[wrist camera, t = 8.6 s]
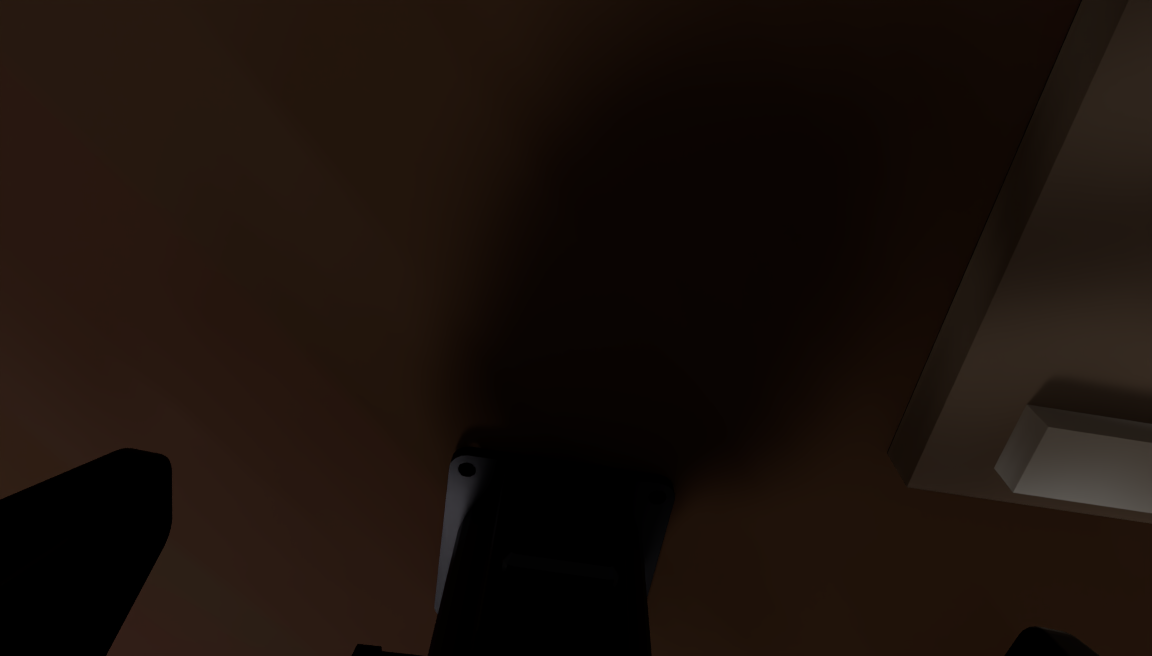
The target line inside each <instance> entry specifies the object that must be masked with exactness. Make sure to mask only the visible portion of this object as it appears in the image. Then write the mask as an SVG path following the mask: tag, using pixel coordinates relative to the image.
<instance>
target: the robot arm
mask: <svg viewBox="0 0 1152 656" xmlns="http://www.w3.org/2000/svg"><path fill="white" fill-rule="evenodd" d="M466 462H468V463H471V464H473V465H474V466H475V467H474V468H466V467H464V466H463V465H462V463H466ZM657 490H660V491H662V492H663V493H662V494H661V495H652V494H650V493H651V492H653V491H657ZM674 500H675V493H674V487H673V484H672V482H671V480H669V479H668V478H667V477H665V476H662V475H657V474H650V473H643V472H636V471H630V470H623V469H616V468H610V467H608V466H601V465H594V464H588V463H581V462H574V461H567V460H560V459H554V458H547V457H540V456H533V455H521V454H514V453H507V452H501V451H494V450H487V449H480V448H473V447H463V448H461V449H458V450H457V451H456V452H455V453H454V454H453V457H452V460H451V464H450V467H449V477H448V486H447V495H446V504H445V514H444V523H443V532H442V542H441V551H440V560H439V569H438V579H437V588H436V597H435V611H436V612H437V614H438V615H437V619H436V623H435V628H434V632H433V636H432V640H431V644H430V649H429V653H428V656H652V655H651V642H650V630H649V617H648V605H647V596H648V592H649V589H650V585H651V581H652V578H653V574H654V571H655V567H656V564H657V560H658V557H659V553H660V550H661V546H662V542H663V539H664V535H665V532H666V528H667V525H668V521H669V518H670V514H671V511H672V507H673V504H674ZM171 524H172V468H171V463H170V461H169V459H168V458H167V457H166V456H164V455H162V454H158V453H153V452H148V451H143V450H138V449H133V448H123V449H119V450H116V451H114V452H111V453H109V454H107V455H104V456H102V457H100V458H97V459H95V460H93V461H90V462H88V463H86V464H83V465H81V466H78V467H76V468H74V469H71V470H69V471H67V472H64V473H62V474H60V475H57V476H55V477H52V478H50V479H48V480H45V481H43V482H41V483H38V484H36V485H34V486H31V487H29V488H27V489H24V490H22V491H19V492H17V493H15V494H12V495H10V496H8V497H5V498H3V499H1V500H0V656H106V655H107V653H108V651H109V649H110V647H111V645H112V644H113V642H114V640H115V638H116V636H117V634H118V632H119V630H120V629H121V627H122V625H123V623H124V621H125V619H126V617H127V615H128V613H129V612H130V610H131V608H132V606H133V604H134V602H135V600H136V598H137V597H138V595H139V593H140V591H141V589H142V587H143V585H144V583H145V581H146V580H147V578H148V576H149V574H150V572H151V570H152V568H153V566H154V565H155V563H156V561H157V559H158V557H159V555H160V553H161V551H162V549H163V548H164V546H165V544H166V541H167V539H168V536H169V533H170V529H171ZM352 656H421V655H412V654H403V653H394V652H385V651H382V647H381V646H372V645H363V644H357V646H356V648H355V650H354V652H353V654H352ZM1005 656H1099V655H1098V654H1097V653H1095V652H1094V651H1093V650H1092V649H1090V648H1089V647H1088V646H1086V645H1085V644H1084V643H1083V642H1081V641H1080V640H1079V639H1077V638H1076V637H1074V636H1073V635H1071V634H1069V633H1066V632H1063V631H1058V630H1053V629H1047V628H1042V627H1036V626H1034V627H1029V628H1027V629H1025V630H1023V631H1022V632H1021V633H1020V634H1019V635H1018V637H1017V638H1016V640H1015V641H1014V643H1013V644H1012V646H1011V647H1010V648H1009V650H1008V651H1007V653H1006V654H1005Z"/></svg>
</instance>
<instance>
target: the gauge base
mask: <svg viewBox="0 0 1152 656" xmlns="http://www.w3.org/2000/svg"><path fill="white" fill-rule="evenodd" d="M887 454H888V456H889V457H890V459H891V461H892V462H893V464H894V466H895V468H896V469H897V471H898V473H899V474H900V476H901V478H902V479H903V481H904V483H905V485H906V486H907V487H910V488H917V489H923V490H930V491H937V492H944V493H950V494H957V495H964V496H970V497H977V498H984V499H991V500H997V501H1004V502H1011V503H1017V504H1024V505H1031V506H1038V507H1044V508H1051V509H1058V510H1064V511H1071V512H1078V513H1085V514H1091V515H1098V516H1105V517H1111V518H1118V519H1125V520H1132V521H1138V522H1145V523H1152V0H1082V2H1081V4H1080V6H1079V9H1078V11H1077V13H1076V16H1075V18H1074V20H1073V23H1072V25H1071V27H1070V30H1069V32H1068V34H1067V37H1066V39H1065V41H1064V43H1063V46H1062V48H1061V50H1060V53H1059V55H1058V57H1057V60H1056V62H1055V64H1054V67H1053V69H1052V71H1051V74H1050V76H1049V78H1048V81H1047V83H1046V85H1045V88H1044V90H1043V92H1042V95H1041V97H1040V99H1039V102H1038V104H1037V106H1036V109H1035V111H1034V113H1033V116H1032V118H1031V120H1030V123H1029V125H1028V127H1027V130H1026V132H1025V134H1024V137H1023V139H1022V141H1021V144H1020V146H1019V148H1018V151H1017V153H1016V155H1015V158H1014V160H1013V162H1012V165H1011V167H1010V169H1009V171H1008V174H1007V176H1006V178H1005V181H1004V183H1003V185H1002V188H1001V190H1000V192H999V195H998V197H997V199H996V202H995V204H994V206H993V209H992V211H991V213H990V216H989V218H988V220H987V223H986V225H985V227H984V230H983V232H982V234H981V237H980V239H979V241H978V244H977V246H976V248H975V251H974V253H973V255H972V258H971V260H970V262H969V265H968V267H967V269H966V272H965V274H964V276H963V279H962V281H961V283H960V286H959V288H958V290H957V293H956V295H955V297H954V299H953V302H952V304H951V306H950V309H949V311H948V313H947V316H946V318H945V320H944V323H943V325H942V327H941V330H940V332H939V334H938V337H937V339H936V341H935V344H934V346H933V348H932V351H931V353H930V355H929V358H928V360H927V362H926V365H925V367H924V369H923V372H922V374H921V376H920V379H919V381H918V383H917V386H916V388H915V390H914V393H913V395H912V397H911V400H910V402H909V404H908V407H907V409H906V411H905V414H904V416H903V418H902V421H901V423H900V425H899V427H898V430H897V432H896V434H895V437H894V439H893V441H892V444H891V446H890V448H889V451H888V453H887Z"/></svg>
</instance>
